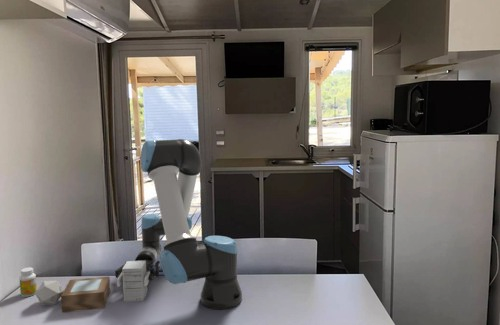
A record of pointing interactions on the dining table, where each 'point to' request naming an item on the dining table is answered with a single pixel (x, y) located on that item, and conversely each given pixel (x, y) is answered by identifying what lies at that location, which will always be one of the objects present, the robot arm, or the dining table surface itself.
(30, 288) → the supplement bottle
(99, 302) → the walnut plinth
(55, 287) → the die
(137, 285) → the supplement box
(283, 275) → the dining table surface
